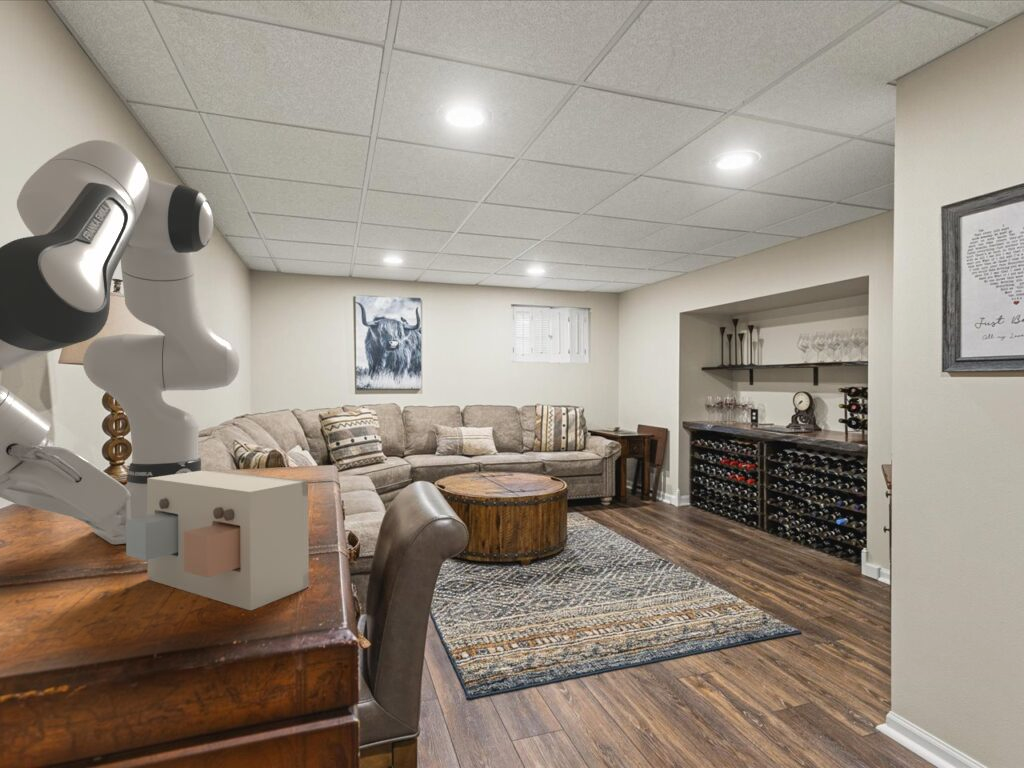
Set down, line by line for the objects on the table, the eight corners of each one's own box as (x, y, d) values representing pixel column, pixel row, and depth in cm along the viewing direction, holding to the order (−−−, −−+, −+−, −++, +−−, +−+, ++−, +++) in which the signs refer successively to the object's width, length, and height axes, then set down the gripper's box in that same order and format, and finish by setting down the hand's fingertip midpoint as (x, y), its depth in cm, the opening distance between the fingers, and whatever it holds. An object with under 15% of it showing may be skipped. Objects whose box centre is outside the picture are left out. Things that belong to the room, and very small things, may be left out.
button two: (184, 571, 68) (183, 531, 68) (242, 553, 75) (242, 518, 75) (207, 577, 65) (207, 536, 65) (265, 559, 72) (265, 522, 72)
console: (143, 580, 78) (142, 478, 79) (207, 561, 87) (206, 469, 87) (246, 612, 67) (245, 492, 67) (308, 587, 75) (308, 480, 75)
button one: (126, 555, 74) (126, 519, 74) (184, 540, 81) (184, 508, 81) (145, 560, 72) (145, 523, 72) (204, 545, 79) (204, 511, 79)
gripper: (70, 421, 47) (185, 510, 55) (-19, 417, 57) (89, 493, 65) (3, 480, 43) (137, 566, 51) (-80, 464, 53) (43, 538, 61)
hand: (110, 525), depth 58 cm, fingers closed
